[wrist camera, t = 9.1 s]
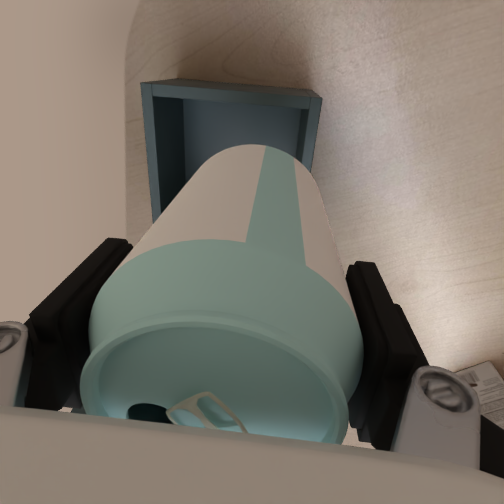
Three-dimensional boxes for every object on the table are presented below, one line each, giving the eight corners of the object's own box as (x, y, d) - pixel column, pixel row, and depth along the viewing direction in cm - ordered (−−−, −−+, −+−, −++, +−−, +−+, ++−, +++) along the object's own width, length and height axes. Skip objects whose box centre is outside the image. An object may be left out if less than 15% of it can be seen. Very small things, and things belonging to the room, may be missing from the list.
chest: (176, 78, 30) (140, 82, 23) (312, 89, 30) (322, 97, 22) (181, 214, 37) (155, 252, 29) (292, 224, 36) (295, 266, 29)
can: (284, 283, 20) (286, 530, 9) (173, 237, 19) (33, 454, 8) (347, 178, 16) (465, 381, 6) (214, 116, 15) (67, 223, 5)
